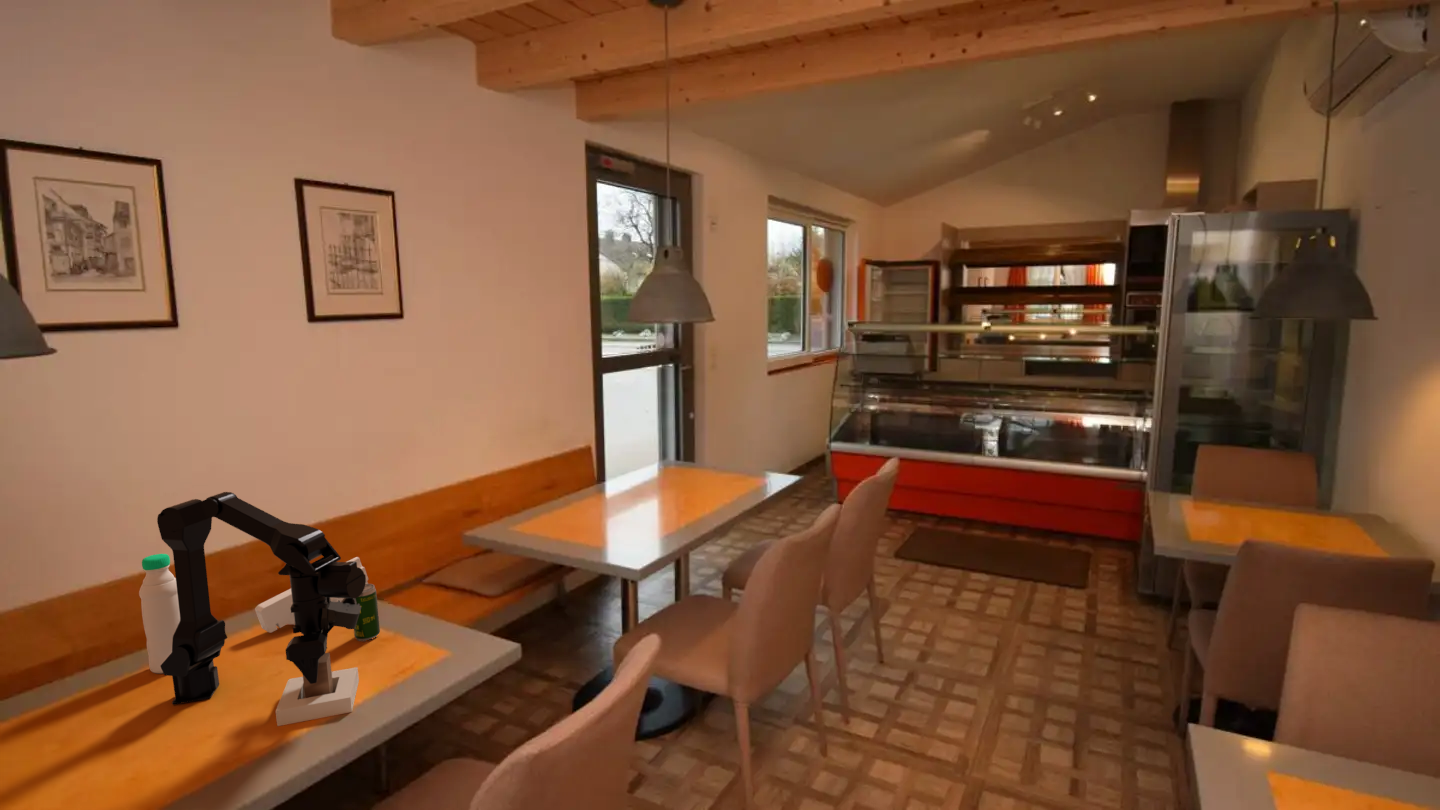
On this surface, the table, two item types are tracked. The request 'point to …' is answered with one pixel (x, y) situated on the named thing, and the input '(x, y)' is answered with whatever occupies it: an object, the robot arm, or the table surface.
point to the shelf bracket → (285, 607)
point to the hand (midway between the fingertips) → (317, 671)
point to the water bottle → (159, 608)
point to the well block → (317, 699)
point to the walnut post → (320, 679)
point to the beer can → (367, 615)
